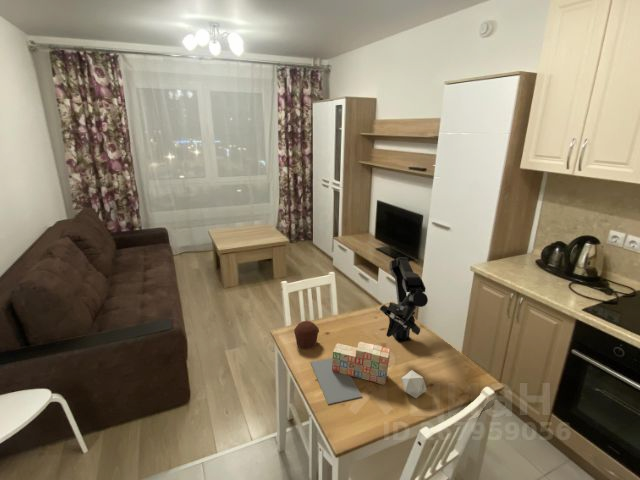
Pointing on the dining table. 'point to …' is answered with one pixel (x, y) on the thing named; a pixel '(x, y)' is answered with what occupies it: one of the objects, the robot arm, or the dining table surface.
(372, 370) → the stack of blocks
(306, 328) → the muffin
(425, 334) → the dining table surface
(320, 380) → the mat
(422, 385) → the die
